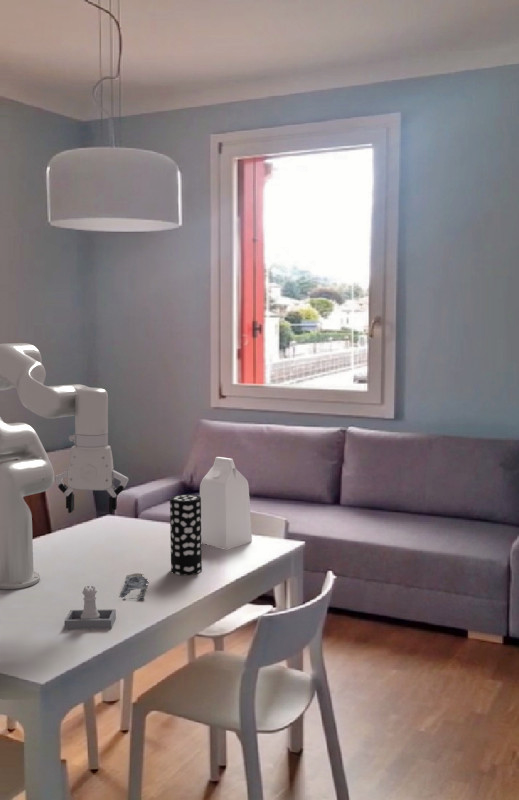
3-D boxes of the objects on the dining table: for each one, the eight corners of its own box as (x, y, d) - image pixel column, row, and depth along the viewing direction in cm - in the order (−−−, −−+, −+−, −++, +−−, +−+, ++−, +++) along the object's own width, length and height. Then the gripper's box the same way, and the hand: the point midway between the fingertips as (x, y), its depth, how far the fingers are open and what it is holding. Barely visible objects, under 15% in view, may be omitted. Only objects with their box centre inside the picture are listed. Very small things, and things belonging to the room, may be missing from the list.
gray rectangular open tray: (64, 629, 177) (64, 620, 177) (70, 618, 184) (70, 609, 184) (111, 628, 178) (111, 620, 178) (115, 617, 184) (115, 609, 184)
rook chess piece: (80, 619, 183) (79, 585, 182) (100, 618, 184) (99, 583, 183) (80, 626, 178) (79, 591, 178) (100, 625, 179) (99, 590, 179)
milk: (252, 541, 248) (251, 457, 245) (226, 549, 239) (225, 462, 237) (223, 534, 256) (222, 453, 253) (197, 542, 247) (196, 458, 244)
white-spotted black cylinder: (182, 564, 225) (181, 493, 223) (207, 568, 221) (206, 496, 219) (164, 572, 218) (163, 499, 216) (190, 577, 214) (189, 502, 212)
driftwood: (127, 576, 216) (127, 569, 216) (152, 576, 216) (152, 568, 216) (116, 604, 195) (115, 596, 195) (144, 604, 196) (144, 596, 195)
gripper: (50, 442, 186) (50, 515, 188) (125, 444, 185) (125, 517, 187) (58, 437, 193) (59, 507, 195) (131, 439, 193) (130, 509, 195)
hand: (91, 512), depth 191 cm, fingers open, 9 cm apart
